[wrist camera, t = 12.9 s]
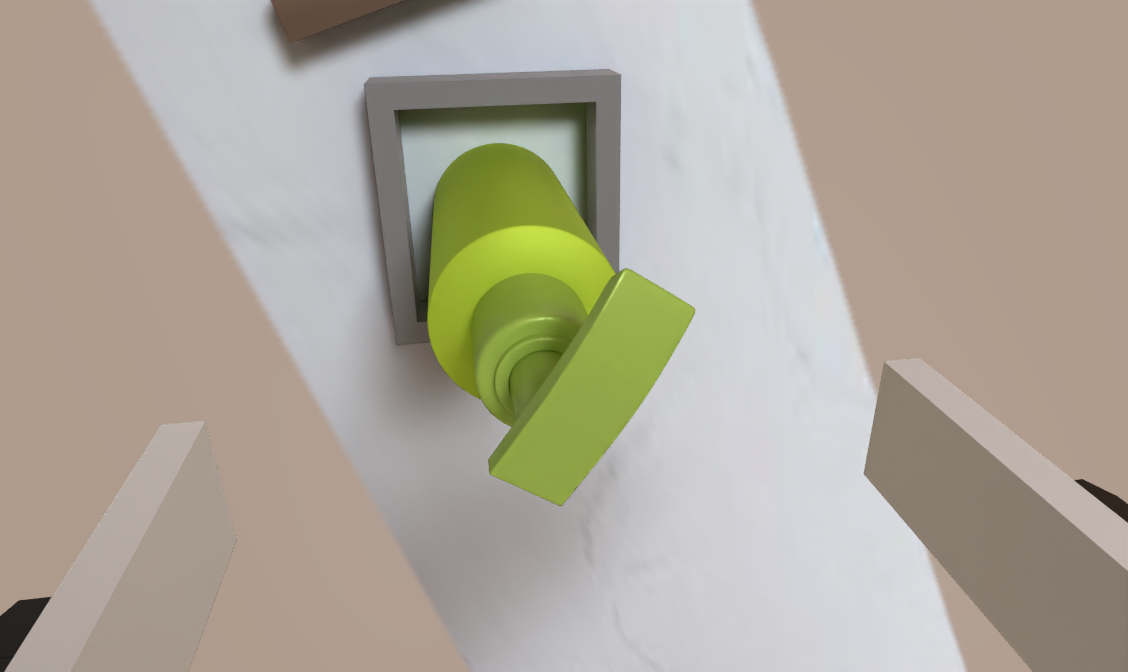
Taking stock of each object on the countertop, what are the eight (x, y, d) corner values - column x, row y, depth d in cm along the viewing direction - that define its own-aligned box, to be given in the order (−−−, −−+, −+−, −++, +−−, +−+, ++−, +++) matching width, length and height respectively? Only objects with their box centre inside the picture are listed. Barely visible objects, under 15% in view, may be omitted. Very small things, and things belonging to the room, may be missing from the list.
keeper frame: (369, 77, 31) (363, 84, 29) (608, 69, 32) (621, 74, 30) (399, 323, 36) (396, 345, 33) (607, 307, 37) (618, 327, 35)
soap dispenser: (601, 167, 34) (777, 362, 16) (520, 292, 36) (597, 592, 18) (488, 95, 32) (544, 223, 14) (409, 231, 34) (369, 498, 16)
